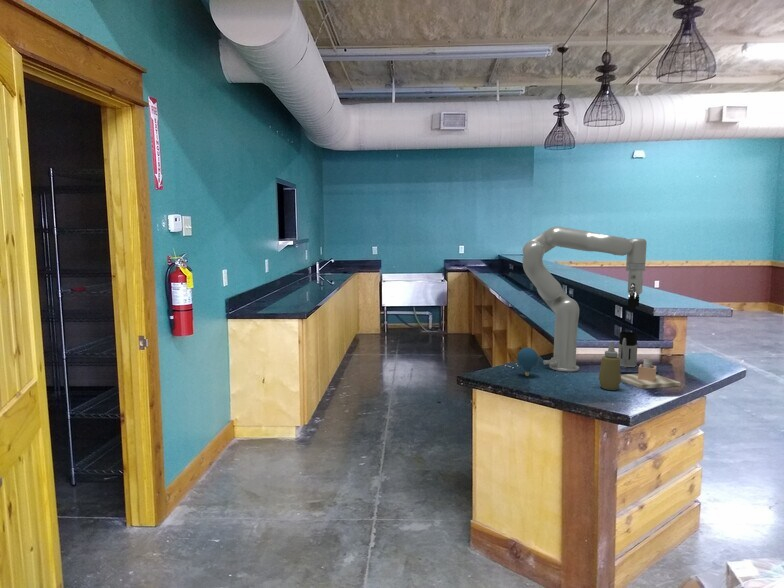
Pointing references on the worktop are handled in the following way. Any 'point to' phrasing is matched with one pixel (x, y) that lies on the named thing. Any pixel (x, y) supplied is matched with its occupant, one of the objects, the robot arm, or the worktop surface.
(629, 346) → the glass holder
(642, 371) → the collar
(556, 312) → the robot arm
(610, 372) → the squeeze bottle
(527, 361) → the light bulb
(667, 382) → the base
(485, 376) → the worktop surface
